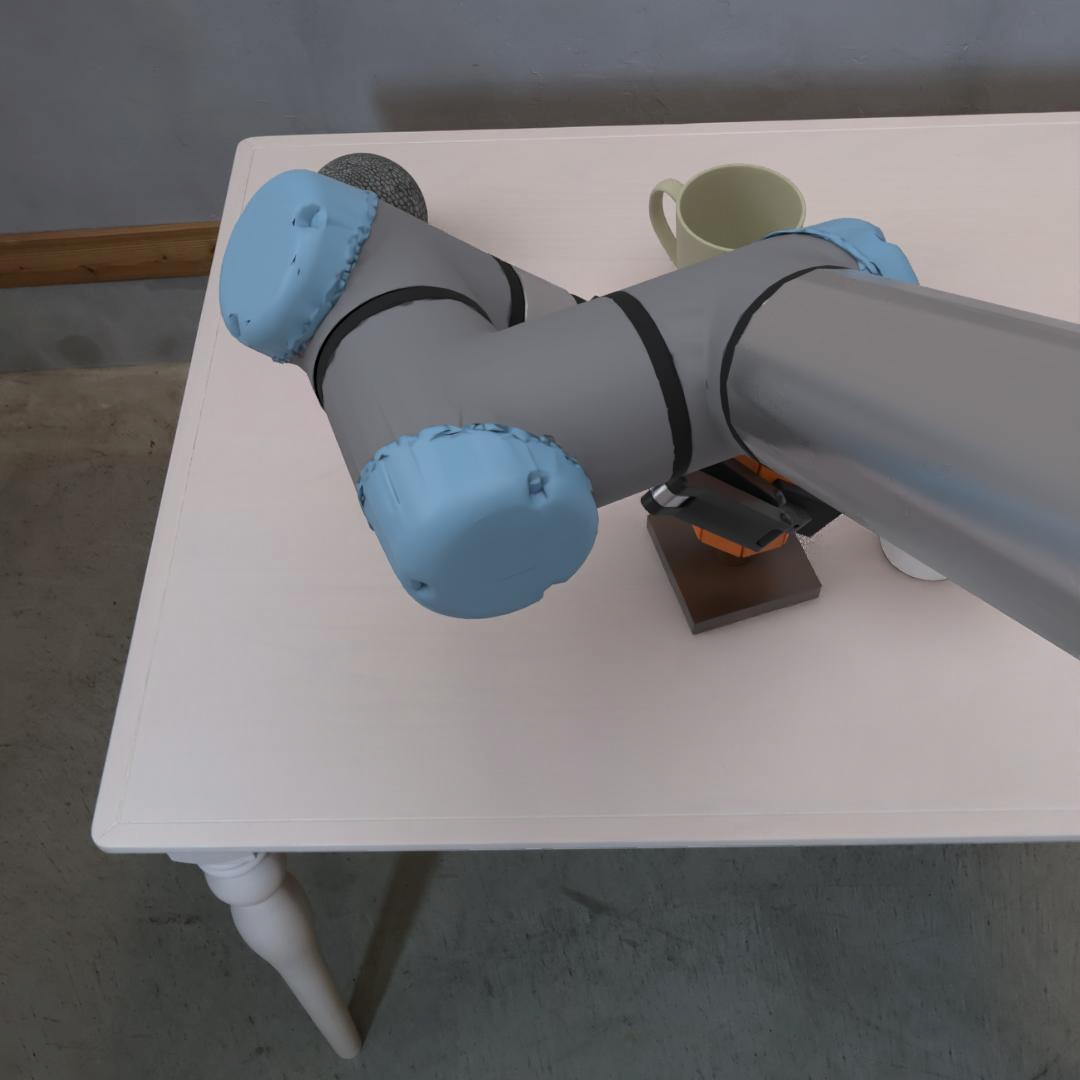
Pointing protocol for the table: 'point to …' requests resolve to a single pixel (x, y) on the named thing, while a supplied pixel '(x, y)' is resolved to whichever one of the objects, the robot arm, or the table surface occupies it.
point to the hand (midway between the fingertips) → (798, 471)
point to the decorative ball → (379, 180)
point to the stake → (729, 576)
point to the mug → (724, 211)
